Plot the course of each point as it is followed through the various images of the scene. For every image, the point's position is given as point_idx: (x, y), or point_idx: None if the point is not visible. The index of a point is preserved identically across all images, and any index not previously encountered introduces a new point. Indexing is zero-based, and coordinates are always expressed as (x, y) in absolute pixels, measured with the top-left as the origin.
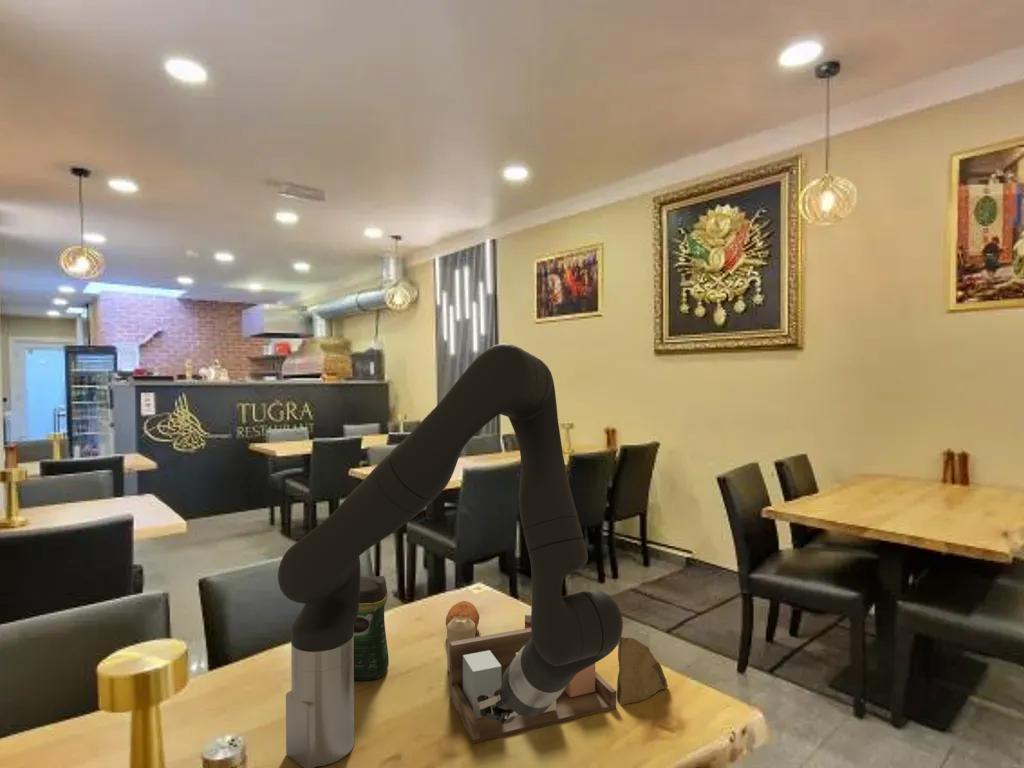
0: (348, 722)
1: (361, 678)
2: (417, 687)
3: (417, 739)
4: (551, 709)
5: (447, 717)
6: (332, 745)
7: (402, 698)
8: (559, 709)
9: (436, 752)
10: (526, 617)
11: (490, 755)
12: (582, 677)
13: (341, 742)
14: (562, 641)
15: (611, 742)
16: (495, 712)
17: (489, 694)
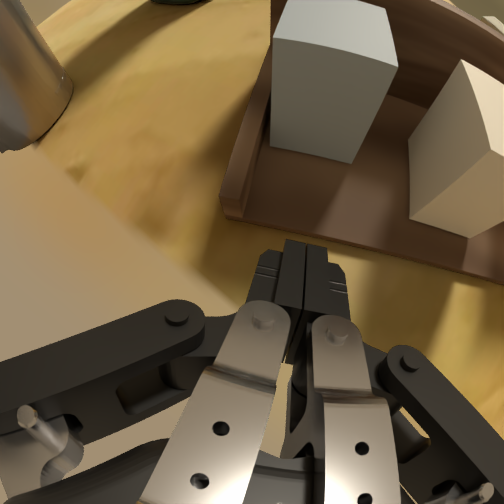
0: (13, 106)
1: (167, 1)
2: (234, 27)
3: (134, 142)
4: (462, 234)
5: (230, 106)
6: (4, 135)
7: (192, 39)
8: (475, 239)
9: (136, 199)
10: (483, 21)
11: (238, 286)
12: None
13: (14, 131)
14: None
15: (490, 391)
16: (120, 422)
17: (328, 118)
